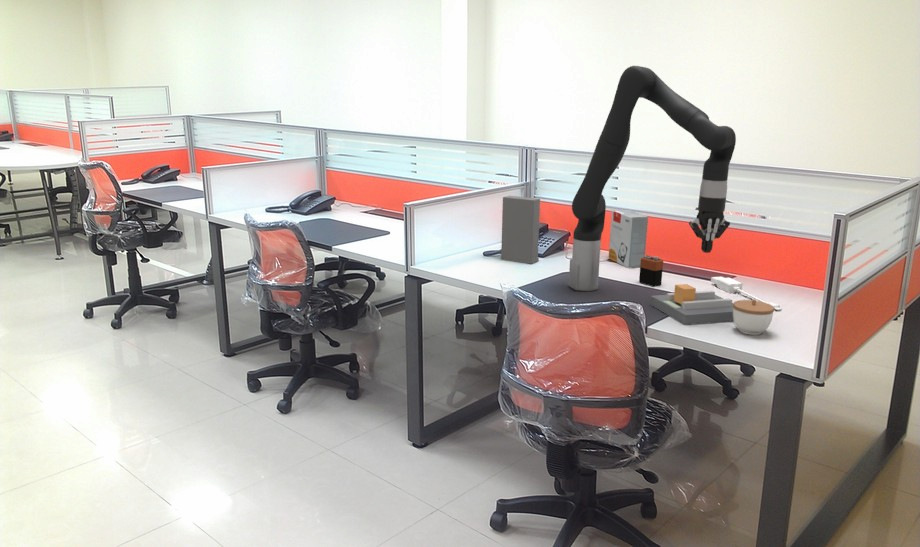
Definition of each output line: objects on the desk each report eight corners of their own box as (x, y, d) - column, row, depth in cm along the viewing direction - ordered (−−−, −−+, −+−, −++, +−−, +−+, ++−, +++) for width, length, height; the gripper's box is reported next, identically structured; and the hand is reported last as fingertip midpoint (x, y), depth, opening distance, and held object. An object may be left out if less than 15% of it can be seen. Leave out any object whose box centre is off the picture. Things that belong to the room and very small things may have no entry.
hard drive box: (607, 259, 286) (610, 209, 281) (624, 257, 288) (628, 209, 283) (627, 268, 271) (631, 216, 266) (645, 267, 274) (649, 215, 269)
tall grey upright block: (538, 261, 280) (541, 198, 274) (531, 264, 275) (534, 200, 269) (507, 256, 287) (509, 195, 281) (500, 259, 282) (502, 197, 276)
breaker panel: (684, 324, 207) (686, 308, 206) (650, 304, 226) (651, 289, 224) (747, 320, 212) (749, 304, 211) (708, 300, 231) (710, 286, 229)
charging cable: (771, 315, 221) (773, 305, 220) (709, 284, 250) (710, 274, 249) (785, 314, 222) (787, 304, 221) (721, 283, 252) (723, 274, 251)
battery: (653, 286, 246) (656, 258, 244) (638, 282, 252) (640, 255, 249) (661, 285, 249) (664, 257, 246) (646, 280, 254) (648, 253, 251)
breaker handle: (682, 305, 214) (683, 289, 213) (673, 300, 218) (675, 284, 217) (694, 304, 215) (695, 288, 214) (685, 299, 219) (686, 284, 218)
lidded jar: (747, 323, 209) (751, 292, 207) (779, 334, 200) (783, 302, 198) (722, 328, 204) (725, 297, 202) (752, 340, 195) (756, 307, 193)
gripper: (700, 197, 204) (693, 255, 209) (740, 196, 208) (733, 254, 212) (685, 193, 211) (680, 250, 216) (725, 192, 215) (718, 248, 219)
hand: (706, 252), depth 214 cm, fingers closed
